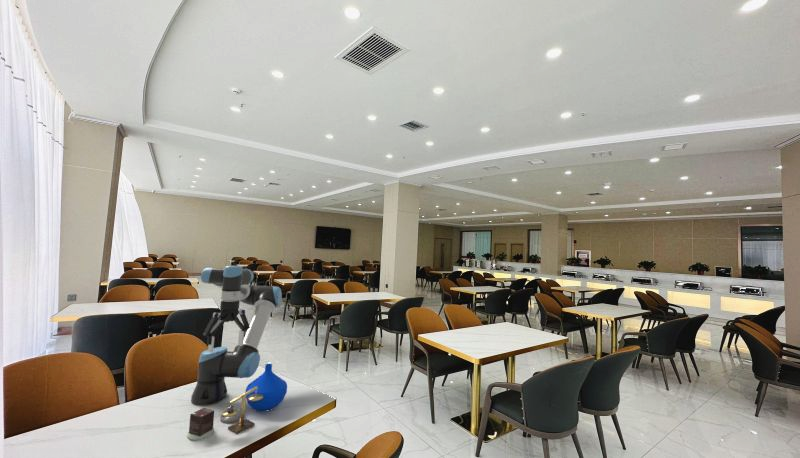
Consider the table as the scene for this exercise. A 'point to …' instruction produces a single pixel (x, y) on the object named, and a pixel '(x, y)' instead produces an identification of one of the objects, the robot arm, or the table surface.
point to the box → (201, 421)
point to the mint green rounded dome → (195, 437)
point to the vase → (267, 390)
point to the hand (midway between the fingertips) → (226, 348)
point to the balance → (232, 411)
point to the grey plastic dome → (231, 418)
